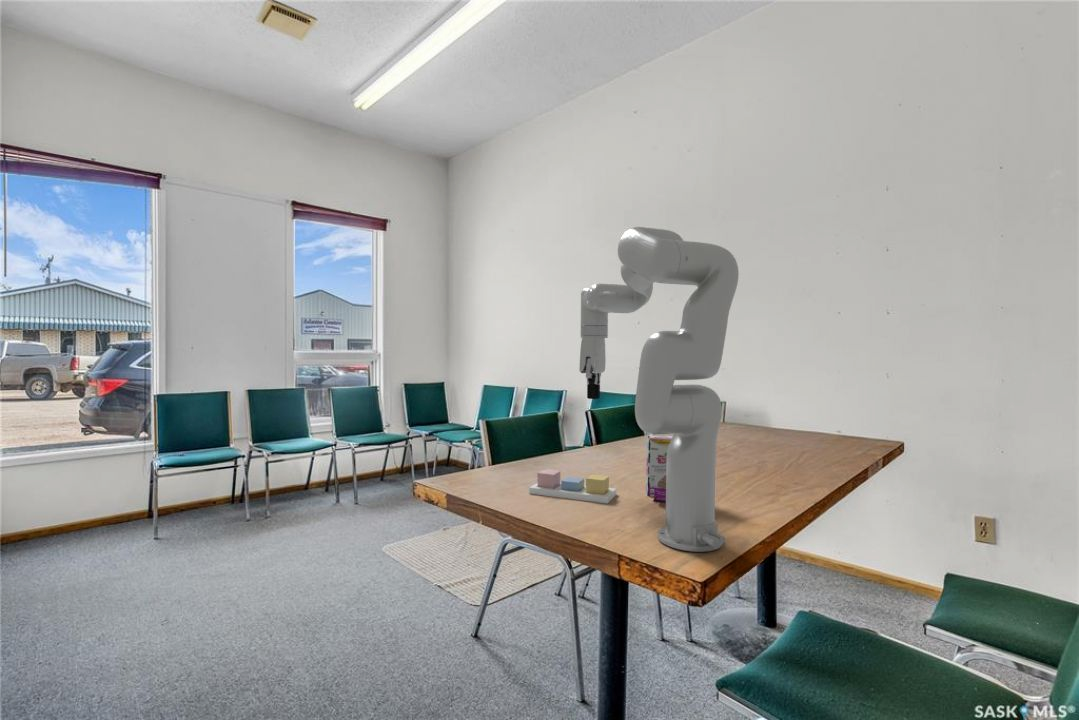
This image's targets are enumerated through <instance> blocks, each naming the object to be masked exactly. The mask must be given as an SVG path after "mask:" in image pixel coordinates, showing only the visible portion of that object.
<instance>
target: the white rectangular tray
mask: <svg viewBox="0 0 1079 720" xmlns="http://www.w3.org/2000/svg"><path fill="white" fill-rule="evenodd" d="M528 490H529V491H528V493H529V494H530V495H538V496H539V495H540V496H545V497H554V498H560V499H567V500H577V501H585V502H592V503H599V504H609V503H610V501H612V500H613V499H614V498H615V497H616V496H617V488H614V487H609V491H608V492H607V493H606V494H605V495H601V494H593V493H586V484H584V488H583V489H582V490H581V491H580V492H576V491H568V490H561V481H560V486H558V487H557V488H555V489H552V488H544V487H537V482H536V483H535V484H533V485H531V486H529V487H528Z"/></svg>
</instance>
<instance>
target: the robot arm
mask: <svg viewBox="0 0 1079 720" xmlns="http://www.w3.org/2000/svg"><path fill="white" fill-rule="evenodd" d="M617 257H618V259H619V261H620V262H621V266H620V275H621V279H622V281H623V282H624V284H617V283H616V284H615V283H614V284H613V283H610V284H609V283H595V284H593V285H591V286H590V287H586V288H583V289H582V290H581V291H580V292H581V293H580V339H581V342H580V349H579V350H580V354H579V373H581V374H585V378H586V390H587V391H586V397H587V399H589V400H598V399H600V398H601V377H602V373H604V372H605V371H606V363H607V362H606V357H607V356H606V340H605V339H608V337H609V313H610V314H611V313H613V314H632V313H635V312H636V311H638V310H640V309H641V308H642V307H643V306H645V305H647V303H648V302H649V301H650V300H651V297H652V294H653V290H654V283H657V284H666V285H667V284H668V285H669V284H670V285H681V286H696V287H697V288H696V289H695V290H694V291H693V293H691V295H690V296H689V298H688V299H687V301H686V302H685V304H684V306H683V310H682V316H681V317H682V318H681V323H680V327H679V329H678V330H662V331H661V330H660V331H657V332H655V333H653V334H652V335H650V336H649V337H648V338H647V340H646V341H645V343H644V344H643V347H642V349H641V354H640V359H639V368H638V374H637V383H636V391H635V392H636V393H635V401H634V416H635V421H636V423H637V425H638V427H639V428H640V429H641V431H643V432H645V433H646V434H649V435H670V434H673V435H672V436H673V437H672V439H671V441H670V444H669V446H668V450H667V462H666V502H665V526H663V527H660V529H658V531H657V538H658V540H659V542H660V543H662V544H664V545H665V546H668V547H671V548H672V549H673V548H674V549H676V550H680V551H687V552H693V553H694V552H695V553H704V552H706V553H707V552H712V551H716V550H719V549H720V548H721V547H722V546H723V544H724V543H725V542H726V537H725V535H723V534H720V533H718V531H719V530H718V529H719V528H718V527H719V526H718V525H719V524H718V523H716V520H715V518H716V515H715V514H716V512H715V511H716V508H715V507H716V466H717V465H716V464H717V463H716V462H717V460H716V459H717V440H718V435H719V428H720V424H721V419H722V415H723V414H722V413H723V405H722V401H721V399H720V397H719V395H718V393H717V392H716V391H715V390H713V389H712V388H710V387H709V386H706V385H701V384H675V381H690V380H691V381H694V380H695V381H696V380H706V379H711V378H713V377H715V375H717V374H718V372H719V370H720V368H721V364H722V360H723V354H724V348H725V341H726V337H727V336H726V335H727V334H726V333H727V328H728V320H729V315H730V310H731V306H732V304H733V303H732V302H733V300H734V297H735V294H736V291H737V286H738V283H739V274H740V273H739V267H738V263H737V262H738V261H737V260H736V257H735V256H734V254H732V253H731V252H730V250H729V249H727V248H725V247H723V246H720V245H717V244H714V243H713V244H712V243H708V242H701V241H688V240H684V238H682V237H681V236H680V235H679V234H678V233H676V232H675V231H672V230H669V229H663V228H656V227H655V228H653V227H644V226H634V227H631V228H629V229H627V230H626V231H625V232H624V233H623V234H622V236H621V237H620V238H619V242H618V245H617Z"/></svg>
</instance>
